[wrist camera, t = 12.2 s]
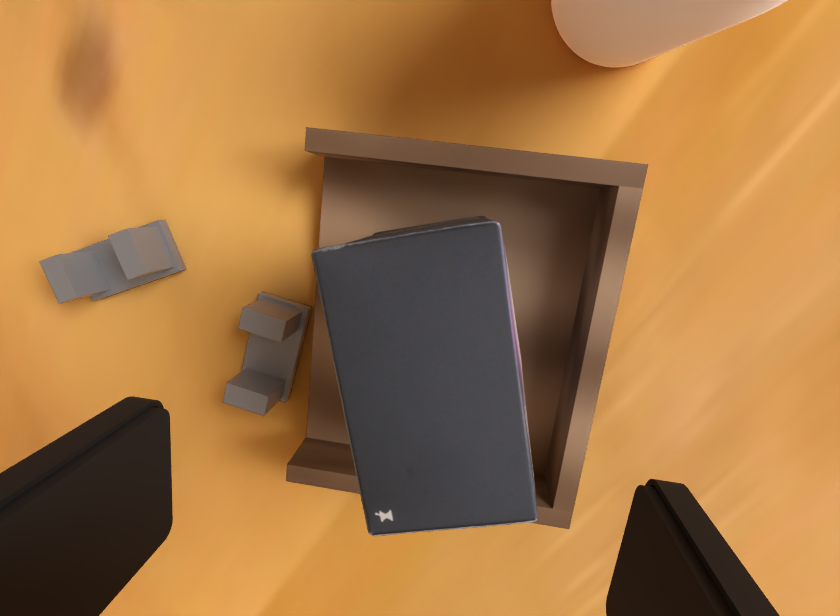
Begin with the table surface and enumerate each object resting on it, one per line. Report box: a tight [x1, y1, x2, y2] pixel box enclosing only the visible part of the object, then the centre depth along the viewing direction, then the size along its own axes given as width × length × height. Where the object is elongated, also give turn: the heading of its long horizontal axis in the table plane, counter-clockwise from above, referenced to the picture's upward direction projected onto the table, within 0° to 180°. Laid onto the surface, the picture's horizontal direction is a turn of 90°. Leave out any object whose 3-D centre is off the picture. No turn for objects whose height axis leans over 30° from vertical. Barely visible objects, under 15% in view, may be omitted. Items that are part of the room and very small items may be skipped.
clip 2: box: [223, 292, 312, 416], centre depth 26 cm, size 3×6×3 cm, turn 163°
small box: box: [312, 216, 538, 536], centre depth 20 cm, size 11×6×10 cm, turn 9°
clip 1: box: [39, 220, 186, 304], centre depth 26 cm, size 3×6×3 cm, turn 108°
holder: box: [286, 127, 648, 529], centre depth 24 cm, size 18×15×4 cm
